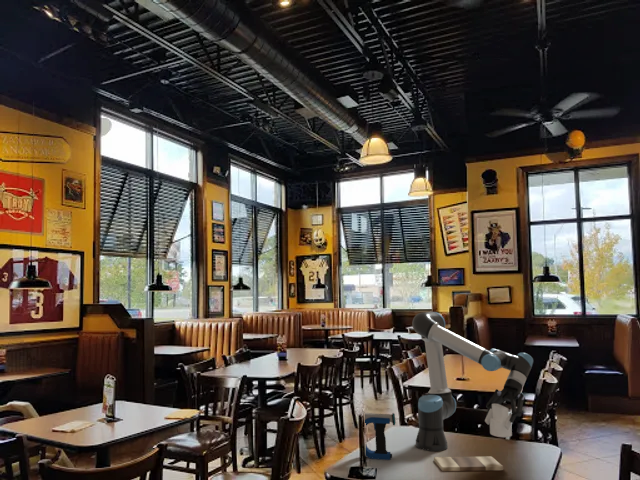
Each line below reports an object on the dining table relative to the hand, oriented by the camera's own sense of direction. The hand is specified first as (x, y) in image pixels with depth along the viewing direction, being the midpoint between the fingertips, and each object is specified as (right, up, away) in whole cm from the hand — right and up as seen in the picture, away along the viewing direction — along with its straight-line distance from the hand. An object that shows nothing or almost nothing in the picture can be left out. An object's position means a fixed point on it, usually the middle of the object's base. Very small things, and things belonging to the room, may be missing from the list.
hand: (496, 425), depth 217 cm
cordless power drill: (-51, -18, +8) cm, 54 cm away
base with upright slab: (+3, -5, +2) cm, 6 cm away
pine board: (-13, -17, -2) cm, 21 cm away
